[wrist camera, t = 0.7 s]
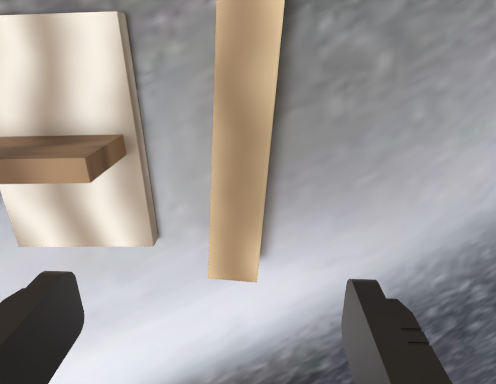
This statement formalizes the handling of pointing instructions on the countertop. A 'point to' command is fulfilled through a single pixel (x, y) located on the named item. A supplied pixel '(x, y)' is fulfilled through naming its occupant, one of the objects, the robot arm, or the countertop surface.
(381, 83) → the countertop surface
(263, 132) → the oak batten
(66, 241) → the stand
